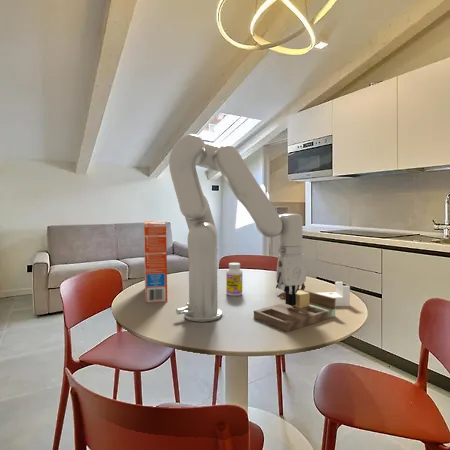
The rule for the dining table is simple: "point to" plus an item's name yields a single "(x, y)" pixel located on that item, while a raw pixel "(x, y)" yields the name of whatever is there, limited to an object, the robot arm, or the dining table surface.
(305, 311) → the box
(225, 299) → the dining table surface
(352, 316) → the dining table surface
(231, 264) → the supplement bottle
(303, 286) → the pottery mug
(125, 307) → the dining table surface
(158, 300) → the orange cereal box
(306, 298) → the block
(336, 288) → the bracket
